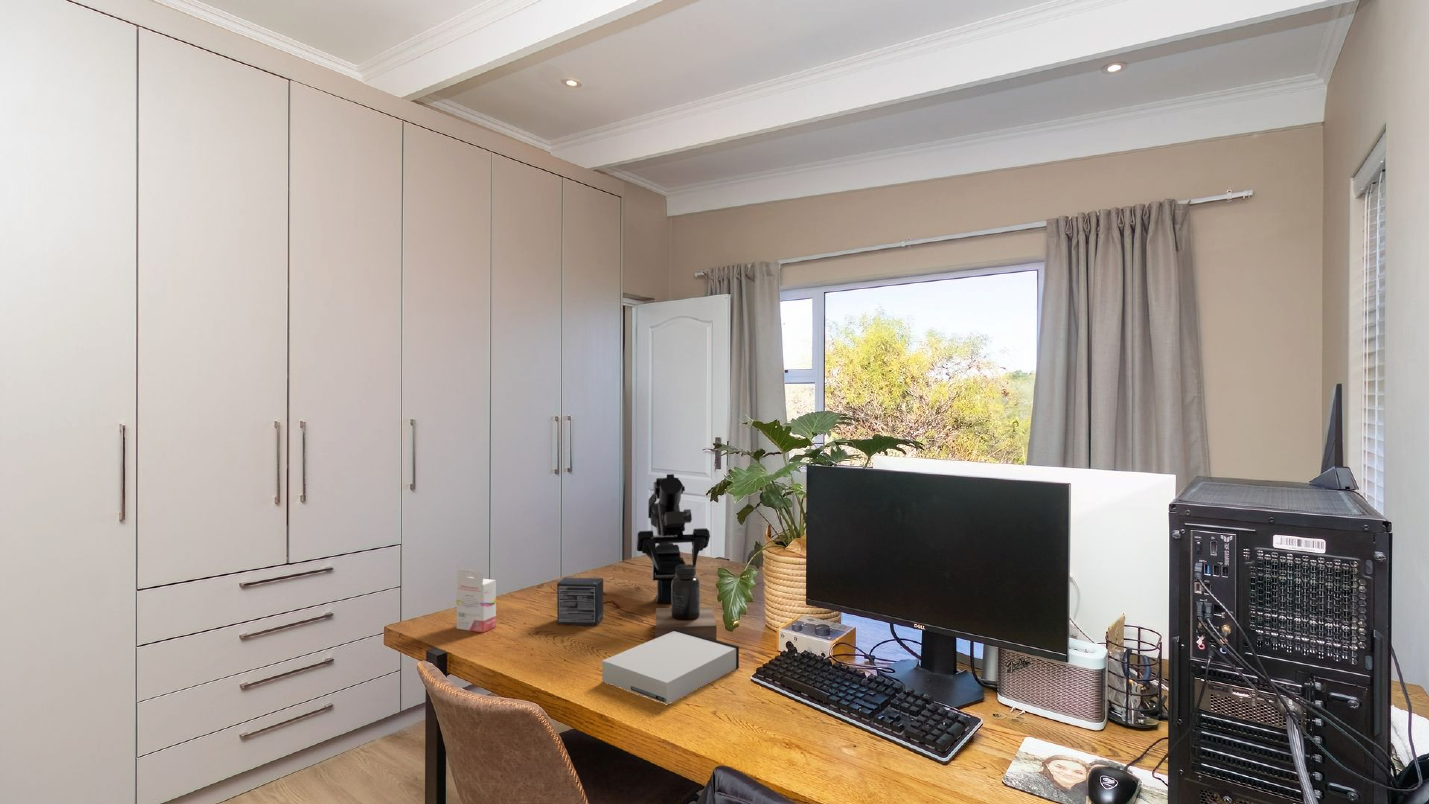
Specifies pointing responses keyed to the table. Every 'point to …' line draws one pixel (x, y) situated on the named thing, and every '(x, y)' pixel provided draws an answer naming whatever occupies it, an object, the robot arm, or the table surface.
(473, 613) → the ink cartridge box
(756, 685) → the table surface
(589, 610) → the small box
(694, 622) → the walnut block
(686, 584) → the supplement bottle
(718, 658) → the disc drive
